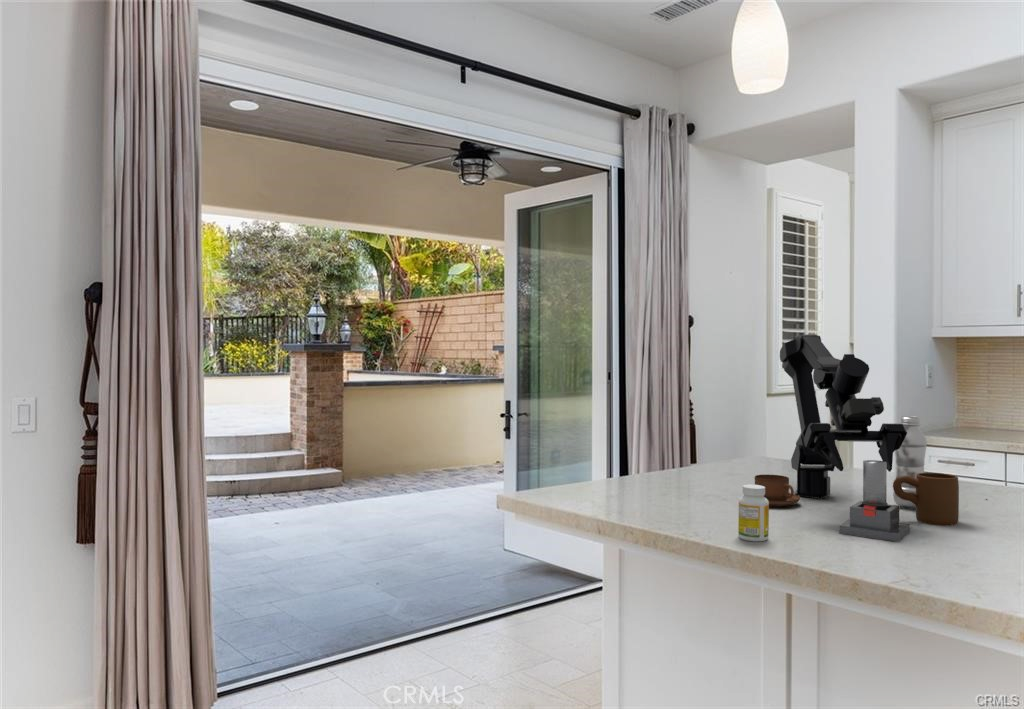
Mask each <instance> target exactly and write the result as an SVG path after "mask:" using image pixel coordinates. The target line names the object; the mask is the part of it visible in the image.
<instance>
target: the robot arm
mask: <svg viewBox="0 0 1024 709" xmlns="http://www.w3.org/2000/svg"><path fill="white" fill-rule="evenodd" d="M779 360H780V362H782V366H783V371H784V372H785V373H786V374H787V375H788V376H789V377H790V378H791V380H792V384H793V391H794V396H795V402H796V408H797V414H798V419H799V420H798V421H799V427H800V434H799V436H798V438H797V439H796V441H795V445H796V446H795V448H794V451H793V453H792V456H791V458H790V461H791V462H790V463H791V464H790V465H791V468H792V469H793V470H795V471H796V477H797V478H796V492H794V494H795V495H797V496H799V497H805V498H813V499H821V500H822V499H824V498H827V497H828V496H831V476H829V472H834V471H835V469H837V470H838V471H840V472H843V471H844V464H843V459H842V457H841V455H840V453H839V449H838V448H837V444H836V442H840V441H841V442H854V443H855V442H858V443H859V442H861V443H862V442H870V443H871V442H872V443H874V442H875V443H876V445H877V447H878V455H879V457H880V458H881V461H885V462H887V471H888V472H892V470H893V461H894V453H895V450H898V449H900V447H901V445H902V443H903V441H904V439H905V437H906V435H907V431H906V428H905V426H904V425H903V424H900V423H885V422H884V423H882V424H881V426H880V428H879V430H869V428H868V427H870V426H871V425H872V422H873V421H872V418H873V416H874V417H875V416H878V415H881V414H882V413H883V412H884V410H885V407H884V403H883V401H882V398H881V397H880V396H878V397H877V396H872V397H870V398H861V397H860V398H857V396H856V395H857V394H860V393H861V391H862V389H863V386H864V384H865V382H866V379H867V377H868V375H869V371H870V367H869V364H868V363H866V362H865V361H864V360H862V359H860V358H857V357H856V356H855V354H854V353H849V354H848V353H844V354H843V356H842V359H839V358H836V357H835V356H833V355H832V353H831V352H830V351H829V349H828V348H827V347H826V345H825V344H824V343H823V342H822V337H821V335H817V333H816V334H814V333H813V334H800V335H797V336H796V337H795V338H794V339H792V340H788V341H787V342H785V343H783V345H782V346H781V348H780V350H779ZM815 385H816V387H817V389H819V390H826V392H825V402H824V404H825V405H824V406H825V407H826V408H829V412H830V414H831V418H832V419H831V423H829V422H828V423H827V422H822V421H821V416H820V411H819V406H818V401H817V396H816V389H815ZM832 426H835V429H834V428H833V429H832ZM835 467H836V468H835Z"/></svg>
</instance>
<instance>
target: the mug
mask: <svg viewBox="0 0 1024 709" xmlns="http://www.w3.org/2000/svg"><path fill="white" fill-rule="evenodd" d="M902 483H907V484H909V485H912V486H914V487H916V495H915V494H913V493H910V492H905V491H903V490H902V487H901V484H902ZM892 489H893V493H894V492H895V494H896V495H897V496H898V497H899V498H901V499H903V500H907V501H911V502H912V503H914V504H915V505H916V508H915V518H916V520H917V521H918V522H920V523H924V524H927V525H928V524H929V525H934V526H954V525H957V524H958V522H959V516H960V515H959V510H960V509H959V508H960V504H959V503H960V499H959V498H960V484H959V477H958V476H957V475H955V474H954V475H953V474H949V473H942V472H939V473H938V472H924V473H918V474H917V475H916V479H915V478H912V477H910V476H906V475H905V476H900V477H897V478H896V477H895V479H894V480H893V483H892Z"/></svg>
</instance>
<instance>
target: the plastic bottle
mask: <svg viewBox="0 0 1024 709" xmlns="http://www.w3.org/2000/svg"><path fill="white" fill-rule="evenodd" d="M920 421H921V419H920V417H919V416H904V415H903V416H901V417H900V423H899V424H903V425H904V426H905V428H906V431H907V435H906V437H905V439H904V441H903V443H902V445H901V447H900V449H898V450H895V451H894V456H895V464H896V466H895V470H896V471H895V472H896V473H895V479H896V478H897V477H900V476H905V475H906V476H910V477H912V478H915V479H916V475H917V474H918V473H925V467H924V466H925V459H926V458H925V457H926V452H927V451H926V450H927V444H928V441H927V438H926V436H925V435H924V433H923V431H921V429H920V426H921V422H920ZM901 487H902V490H903V491H905V492H910V493H913V494H915V495H916V487H914V486H912V485H909V484H907V483H902V484H901ZM892 496H893V501H894V502H895V505H897V506H899V507H903V508H906V509H916V505H915V504H914V503H912V502H911V501H907V500H903V499H901V498H899V497H898V496H897V495H896V494H895V492H894V491H893V494H892Z"/></svg>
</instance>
